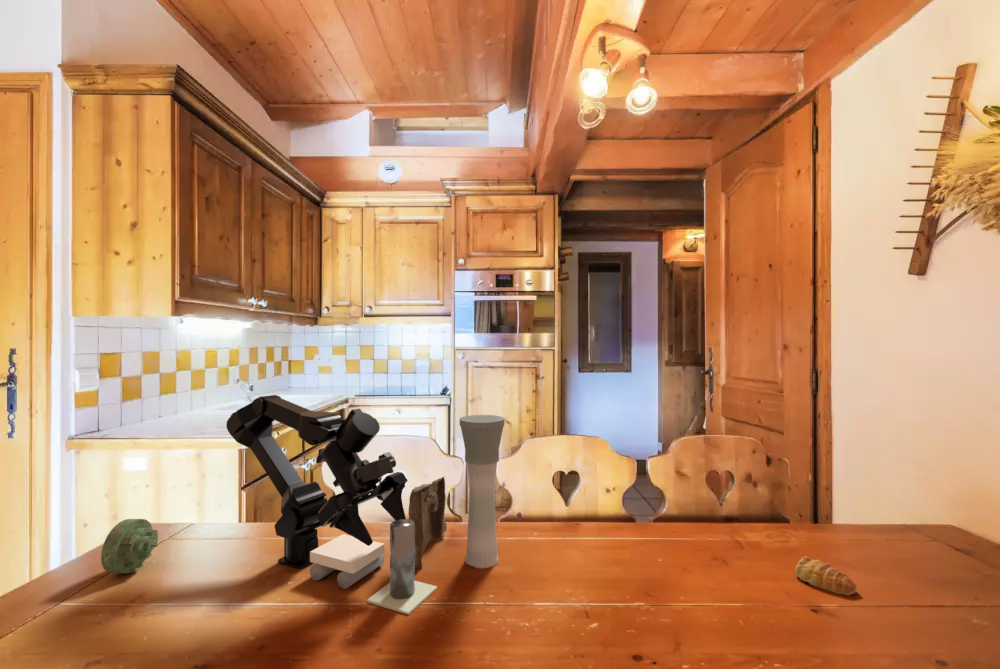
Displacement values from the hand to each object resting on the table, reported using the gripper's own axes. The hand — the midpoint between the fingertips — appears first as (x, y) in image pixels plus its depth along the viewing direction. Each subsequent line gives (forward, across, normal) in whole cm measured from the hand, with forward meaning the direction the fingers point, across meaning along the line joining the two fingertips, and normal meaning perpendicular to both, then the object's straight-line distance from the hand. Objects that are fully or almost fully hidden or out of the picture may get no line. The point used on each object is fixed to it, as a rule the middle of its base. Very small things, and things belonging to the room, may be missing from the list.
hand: (388, 534), depth 86 cm
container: (+14, +18, +1) cm, 23 cm away
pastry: (+58, +43, -44) cm, 84 cm away
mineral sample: (+5, +16, +10) cm, 20 cm away
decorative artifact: (-27, -19, +43) cm, 54 cm away
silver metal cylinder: (+9, 0, +4) cm, 10 cm away
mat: (+10, 0, +5) cm, 11 cm away
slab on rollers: (-1, +1, +16) cm, 16 cm away
